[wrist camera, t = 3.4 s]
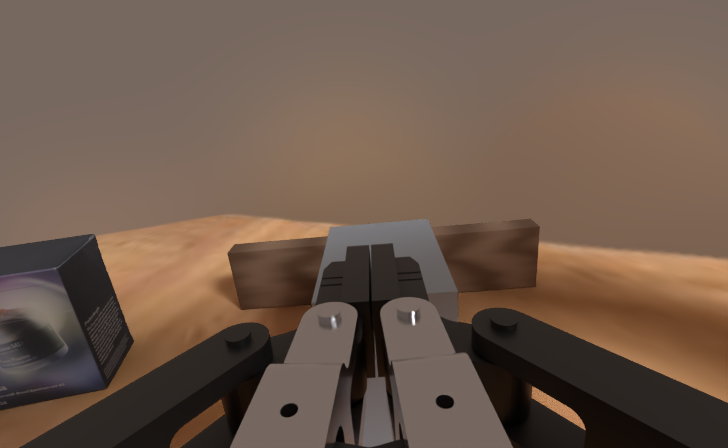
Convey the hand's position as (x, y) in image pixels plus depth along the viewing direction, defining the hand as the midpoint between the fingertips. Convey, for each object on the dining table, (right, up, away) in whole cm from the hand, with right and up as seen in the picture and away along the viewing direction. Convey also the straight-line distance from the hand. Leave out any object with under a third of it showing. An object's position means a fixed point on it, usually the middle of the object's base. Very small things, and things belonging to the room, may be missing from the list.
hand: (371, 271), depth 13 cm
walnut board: (+2, -5, +25) cm, 26 cm away
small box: (-25, -11, +18) cm, 33 cm away
